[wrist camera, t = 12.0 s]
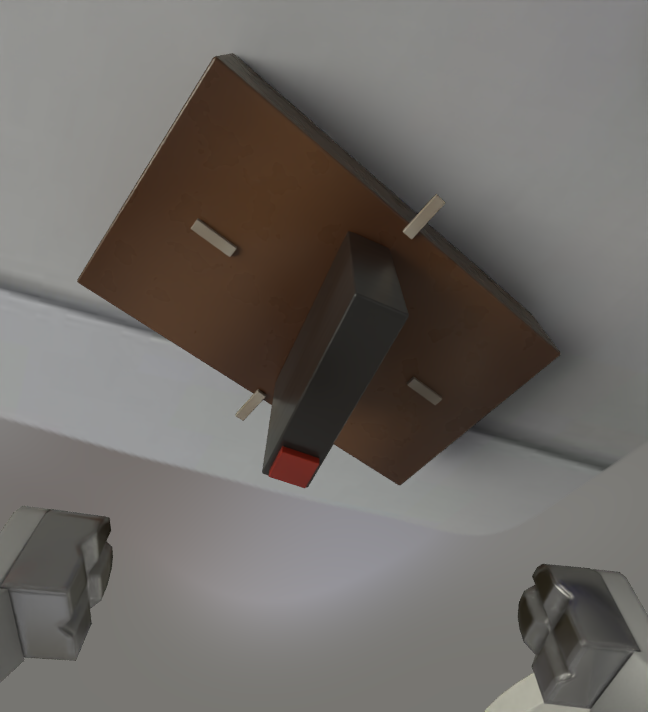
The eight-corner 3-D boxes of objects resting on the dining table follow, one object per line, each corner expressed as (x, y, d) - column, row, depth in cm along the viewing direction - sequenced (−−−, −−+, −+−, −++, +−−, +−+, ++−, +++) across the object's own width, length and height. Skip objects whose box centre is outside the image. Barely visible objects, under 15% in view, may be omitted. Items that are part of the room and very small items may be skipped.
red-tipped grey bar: (347, 229, 16) (355, 297, 12) (389, 248, 16) (411, 320, 12) (274, 382, 18) (260, 480, 14) (311, 396, 19) (307, 495, 15)
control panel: (555, 294, 20) (591, 334, 17) (375, 452, 24) (381, 504, 21) (253, 18, 15) (238, 14, 13) (95, 271, 20) (58, 308, 17)
